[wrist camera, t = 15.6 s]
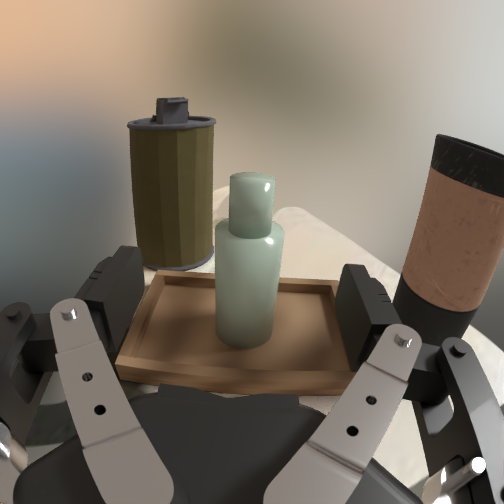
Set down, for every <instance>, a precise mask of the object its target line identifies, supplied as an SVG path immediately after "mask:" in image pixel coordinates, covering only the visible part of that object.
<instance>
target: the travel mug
mask: <svg viewBox="0 0 504 504" xmlns="http://www.w3.org/2000/svg"><path fill="white" fill-rule="evenodd" d="M503 248H504V155H503V154H500V153H497V152H495V151H493V150H490V149H488V148H485V147H482V146H479V145H476V144H474V143H471V142H467V141H464V140H461V139H458V138H454V137H450V136H446V135H442V134H437V136H436V139H435V145H434V150H433V156H432V161H431V166H430V170H429V175H428V179H427V184H426V188H425V192H424V196H423V200H422V204H421V208H420V212H419V216H418V219H417V223H416V227H415V230H414V234H413V237H412V241H411V244H410V247H409V251H408V254H407V257H406V260H405V264H404V266H403V271H402V273H401V276H400V280H399V283H398V286H397V290H396V293H395V296H394V299H393V302H392V304H393V306H394V308H395V310H396V312H397V314H398V316H399V318H400V320H401V322H402V324H403V325H406V326H408V327H410V328H412V329H414V330H415V331H416V332H417V333H418V334H419V336H420V338H421V340H422V343H426V344H430V345H434V346H439V347H441V345H442V343H443V341H444V340H445V339H446V338H449V337H456V338H460V339H461V338H462V336H463V335H464V333H465V331H466V329H467V328H468V326H469V324H470V322H471V320H472V318H473V317H474V315H475V313H476V311H477V309H478V307H479V305H480V303H481V301H482V299H483V297H484V295H485V293H486V290H487V288H488V286H489V283H490V281H491V279H492V276H493V274H494V271H495V269H496V266H497V264H498V261H499V259H500V256H501V253H502V250H503Z"/></svg>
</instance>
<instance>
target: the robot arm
mask: <svg viewBox="0 0 504 504" xmlns="http://www.w3.org/2000/svg"><path fill="white" fill-rule="evenodd" d="M144 284H145V282H144V272H143V264H142V255H141V250H140V248H139V247H132V246H120V247H119V249H118V250H117V252H116V253H115V254H114V256H113V257H107V258H106V259H104V260H103V261H102V262H100V263H99V264H98V265H97V266H96V268H95V269H94V271H93V272H92V273H91V275H90V276H89V279H87V280H86V282H85V283H84V284H83V286H82V287H81V289H80V290H79V292H78V293H77V294H76V296H75V297H74V298H71V299H66V300H63V301H61V302H59V303H57V304H56V305H55V306H54V307H53V308H52V310H51V312H50V313H44V314H32V311H31V308H30V307H29V305H28V304H26V303H22V302H17V303H13V304H11V305H9V306H7V307H5V308H4V309H3V310H2V311H1V313H0V503H3V504H504V416H503V414H502V411H501V409H500V406H499V404H498V402H497V399H496V397H495V395H494V393H493V390H492V388H491V386H490V384H489V381H488V379H487V377H486V375H485V373H484V371H483V369H482V367H481V365H480V363H479V361H478V359H477V357H476V355H475V353H474V351H473V349H472V347H471V346H470V345H469V344H468V343H467V342H465V341H464V340H462V339H460V338H456V337H449V338H446V339H445V340H444V341H443V343H442V345H441V347H439V346H434V345H430V344H426V343H422V340H421V338H420V336H419V334H418V333H417V332H416V331H415V330H414V329H412V328H410V327H408V326H406V325H403V324H402V322H401V320H400V318H399V316H398V314H397V312H396V310H395V308H394V306H393V304H392V303H391V300H390V298H389V296H388V294H387V292H386V290H385V288H384V286H383V285H382V284H381V283H380V282H379V281H378V280H377V279H376V278H370V276H369V274H368V272H367V270H366V268H365V266H364V265H357V264H345V265H344V267H343V270H342V274H341V278H340V281H339V285H338V289H337V292H336V296H335V312H336V315H337V319H338V323H339V326H340V330H341V334H342V337H343V341H344V345H345V349H346V352H347V356H348V360H349V364H350V368H351V372H357V373H356V375H355V376H354V378H353V379H352V381H351V382H350V384H349V385H348V387H347V388H346V390H345V391H344V393H343V394H342V396H341V397H340V398H339V400H338V401H337V403H336V404H335V405H334V407H333V408H332V410H331V411H330V412H329V414H328V415H327V416H326V415H325V414H323V413H321V412H319V411H318V410H315V409H313V408H311V407H308V406H305V405H301V404H299V398H298V394H271V393H263V394H256V395H250V396H243V397H236V398H225V397H221V396H218V395H215V394H212V393H209V392H205V391H202V390H199V389H196V388H193V387H186V386H178V385H171V384H164V383H160V385H159V388H158V392H157V393H149V394H144V395H140V396H137V397H134V398H132V399H130V400H127V398H126V396H125V394H124V392H123V390H122V388H121V386H120V383H119V381H118V379H117V377H116V375H115V372H114V370H113V368H112V366H111V363H110V361H109V359H108V356H107V354H106V351H109V352H115V353H117V351H118V349H119V346H120V344H121V342H122V339H123V337H124V335H125V332H126V330H127V328H128V326H129V323H130V321H131V319H132V317H133V315H134V312H135V310H136V308H137V306H138V304H139V302H140V300H141V297H142V295H143V292H144ZM16 358H18V359H19V363H18V365H17V367H16V368H15V370H14V372H13V374H12V376H11V378H10V370H11V367H12V365H13V364H14V362H15V360H16ZM54 371H59V374H60V377H61V381H62V385H63V388H64V392H65V395H66V399H67V402H68V405H69V409H70V412H71V415H72V418H73V421H74V424H75V427H76V429H77V432H78V434H77V435H75V436H74V437H72V438H71V439H69V440H67V441H66V442H64V443H63V444H61V445H60V446H58V447H57V448H55V449H54V450H52V451H50V452H49V453H47V454H46V455H44V456H43V457H41V458H39V459H38V460H36V461H35V462H33V463H31V464H30V465H29V466H28V464H27V459H28V458H27V457H28V456H27V451H26V449H25V447H24V443H25V441H26V438H27V435H28V432H29V430H30V427H31V424H32V422H33V419H34V416H35V414H36V411H37V409H38V406H39V404H40V401H41V399H42V397H43V394H44V392H45V389H46V387H47V385H48V383H49V380H50V378H51V376H52V373H53V372H54ZM449 395H450V396H451V399H452V402H453V405H454V413H453V410H452V407H451V404H450V402H449V399H448V396H449ZM402 399H406V400H411V401H412V405H413V409H414V412H415V416H416V420H417V424H418V428H419V432H420V436H421V440H422V444H423V449H424V453H425V458H426V462H427V467H428V472H429V477H430V478H429V479H428V480H427V482H426V483H425V485H424V489H423V497H422V499H421V500H420V499H419V498H418V497H417V496H416V495H415V494H414V493H413V492H412V491H410V490H409V489H408V488H407V487H406V486H404V485H403V484H402V483H401V482H400V481H399V480H397V479H396V478H395V477H394V476H393V475H392V474H391V473H389V472H388V471H387V470H386V469H385V468H384V467H383V466H381V465H380V464H379V463H378V462H377V461H376V460H375V459H374V458H373V457H372V456H373V454H374V453H375V451H376V449H377V447H378V445H379V444H380V442H381V440H382V438H383V436H384V434H385V432H386V430H387V428H388V426H389V424H390V422H391V420H392V418H393V416H394V414H395V412H396V410H397V408H398V406H399V404H400V402H401V400H402Z"/></svg>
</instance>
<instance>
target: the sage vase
mask: <svg viewBox="0 0 504 504" xmlns="http://www.w3.org/2000/svg"><path fill="white" fill-rule="evenodd" d="M275 182H276V179H275V178H274V177H272V176H269V175H267V174H262V173H256V172H242V173H236V174H233V175H231V176H230V195H229V196H230V197H229V218H227V219H225V220H222V221H221V222H219V223H218V224H217V225H216V227H215V321H216V333H217V336H218V337H219V339H220V340H221V341H222V342H224V343H225V344H227V345H229V346H231V347H234V348H239V349H252V348H256V347H259V346H261V345H263V344H265V343H266V342H267V341H268V340H269V339H270V337H271V335H272V330H273V323H274V315H275V308H276V300H277V292H278V284H279V276H280V267H281V259H282V250H283V242H284V229H283V228H282V227H281V226H280V225H279V224H278V223H276V222H274V221H272V217H273V205H274V194H275Z"/></svg>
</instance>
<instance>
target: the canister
mask: <svg viewBox="0 0 504 504" xmlns="http://www.w3.org/2000/svg"><path fill="white" fill-rule="evenodd" d="M156 104H157V105H156V114H157V115H153V117H152V118H145V119H139V120H135V121H131V122H128V124H127V127H128V128H129V129H130V156H131V157H130V158H131V177H132V193H133V205H134V217H135V227H136V236H137V245H138V247H139V248H140V250H141V255H142V264H144V265H145V266H147V267H149V268H152V269H154V270H169V271H186V270H190V269H193V268H196V267H198V266H201V265H203V264H204V263H206V262H207V261H208V260H209V259H210V258H211V257H212V255H213V253H214V246H213V243H212V202H213V190H212V189H213V136H214V133H213V132H214V124H215V123H216V119H214V118H211V117H203V116H189V112H188V99H185V98H184V97H176V98H157V103H156Z"/></svg>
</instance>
